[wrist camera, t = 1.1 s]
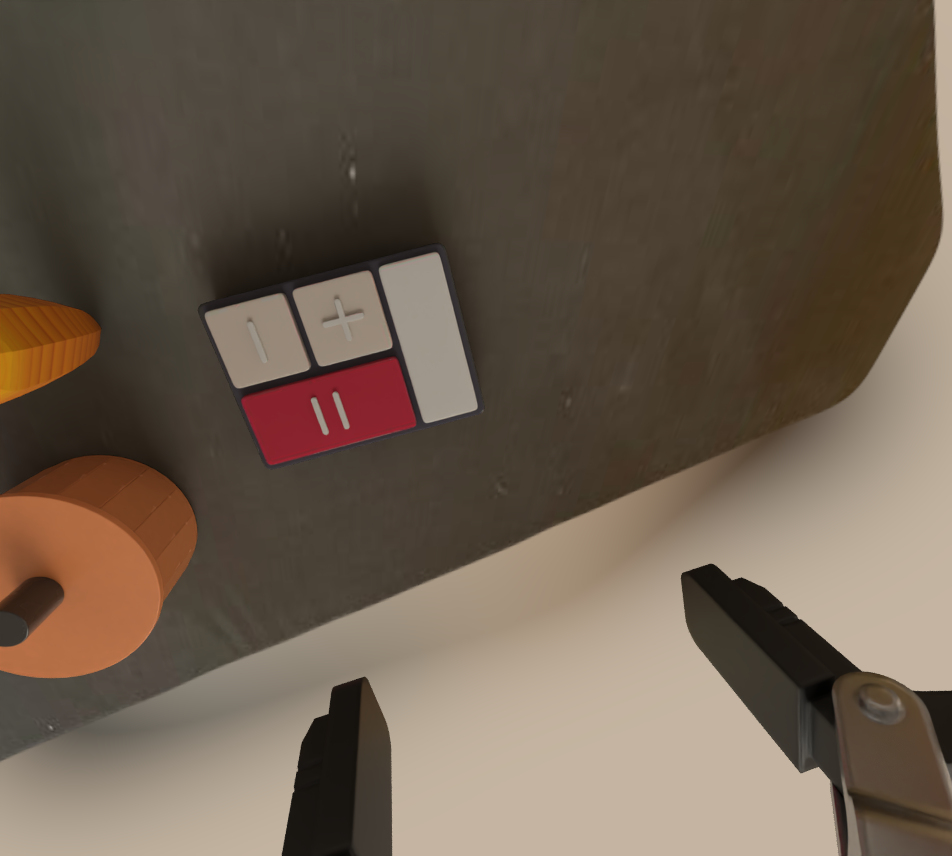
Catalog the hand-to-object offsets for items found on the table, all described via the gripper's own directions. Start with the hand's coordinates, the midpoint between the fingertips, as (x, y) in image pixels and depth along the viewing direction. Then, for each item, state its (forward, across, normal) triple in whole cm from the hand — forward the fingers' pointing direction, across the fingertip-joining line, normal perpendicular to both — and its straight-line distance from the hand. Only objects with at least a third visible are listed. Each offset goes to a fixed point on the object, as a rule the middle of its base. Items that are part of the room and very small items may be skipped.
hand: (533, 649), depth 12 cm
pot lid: (+18, +24, +3) cm, 31 cm away
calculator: (+25, +5, -4) cm, 26 cm away
